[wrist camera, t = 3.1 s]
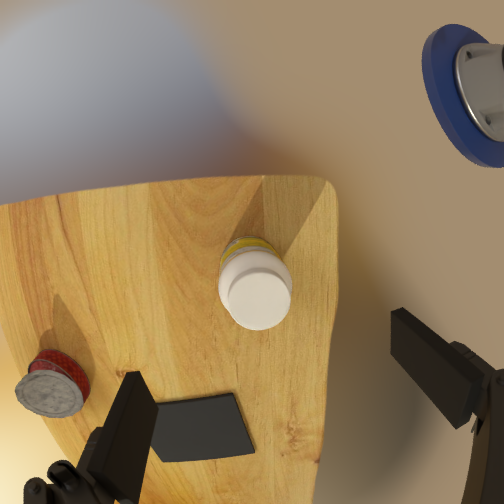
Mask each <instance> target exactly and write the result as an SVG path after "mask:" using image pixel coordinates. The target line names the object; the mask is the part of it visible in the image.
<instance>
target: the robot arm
mask: <svg viewBox="0 0 504 504" xmlns="http://www.w3.org/2000/svg"><path fill="white" fill-rule="evenodd" d="M452 72H453V79H454V84H455V88H456V91H457V94H458V97H459V100H460V102H461V104H462V107H463V109H464V111H465V113H466V114H467V116H468V118H469V119H470V121H471V122H472V124H473V125H474V127H475V128H476V129H477V130H478V131H479V132H480V133H481V134H482V135H483V136H484V137H486V138H487V139H489V140H491V141H494V142H504V45H500V44H487V43H471V44H467V45H464V46H462V47H460V48H459V49H458V50H457V51H456V52H455V54H454V57H453V62H452ZM391 355H392V356H393V357H394V358H395V360H396V361H397V362H398V363H399V364H400V365H401V366H402V367H403V368H404V369H405V371H406V372H407V373H408V374H409V375H410V377H411V378H412V379H413V380H414V381H415V382H416V383H417V384H418V386H419V387H420V388H421V389H422V390H423V391H424V393H425V394H426V395H427V396H428V397H429V398H430V400H432V402H433V403H434V404H435V405H436V407H437V408H438V409H439V410H440V411H441V413H442V414H443V415H444V416H445V417H446V418H447V420H448V421H449V422H450V423H451V424H452V426H453V427H454V428H455V429H458V428H459V427H461V426H462V425H464V424H466V423H467V422H469V420H470V418H471V415H472V412H473V413H474V414H475V415H476V416H477V418H476V420H475V423H474V425H473V427H472V430H471V433H473V431H474V438H473V446H472V453H471V459H470V465H469V471H468V476H467V481H466V485H465V490H464V495H463V498H462V502H461V504H504V369H500V370H495V369H494V368H493V367H492V366H490V365H489V364H488V363H487V362H486V361H484V360H483V359H482V358H480V357H479V356H478V355H476V353H474V352H473V351H471V350H470V349H469V348H468V347H467V346H465V345H464V344H462V343H459V342H456V341H453V342H451V343H450V344H449V343H447V342H446V341H445V340H444V339H442V338H441V337H440V336H439V335H438V334H436V333H435V332H434V331H433V330H431V329H430V328H429V327H427V326H426V325H425V324H424V323H422V322H421V321H420V320H419V319H417V318H416V317H415V316H414V315H412V314H411V313H410V312H408V311H407V310H406V309H404V308H403V307H402V308H400V309H396V310H394V311H391ZM158 411H159V408H158V406H157V404H156V403H155V401H154V399H153V397H152V395H151V393H150V391H149V389H148V387H147V385H146V383H145V381H144V379H143V377H142V375H141V373H140V371H135V372H127V373H126V375H125V377H124V379H123V382H122V384H121V386H120V388H119V390H118V393H117V395H116V397H115V400H114V402H113V404H112V406H111V409H110V411H109V413H108V416H107V418H106V421H105V423H104V425H103V427H96V429H95V430H94V431H93V432H92V433H91V434H90V436H89V438H88V441H87V444H86V445H85V448H84V449H85V450H83V453H82V455H81V457H80V460H79V462H78V465H77V467H76V468H75V467H74V466H73V465H72V464H71V463H70V462H69V461H67V460H59V461H56V462H55V463H53V464H52V465H51V466H50V467H49V469H48V472H47V477H48V478H49V479H50V480H51V481H52V482H53V483H54V484H47V483H46V482H45V481H44V480H43V479H41V478H39V477H38V478H37V477H34V478H32V479H30V480H28V481H27V482H26V484H25V486H24V504H114V501H115V499H116V500H117V501H118V502H119V503H120V504H138V503H139V498H140V493H141V488H142V483H143V478H144V473H145V468H146V463H147V459H148V454H149V450H150V445H151V441H152V436H153V432H154V428H155V424H156V419H157V415H158Z"/></svg>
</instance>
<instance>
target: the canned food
mask: <svg viewBox="0 0 504 504" xmlns="http://www.w3.org/2000/svg"><path fill="white" fill-rule="evenodd" d="M15 393H16V396H17V399H18V401H19V402H20V403H21V404H22V405H23V406H24V407H25V408H26V409H28V410H30V411H33V412H34V413H36V414H39V415H43V416H46V417H49V418H64V417H68V416H73V415H74V414H75V413H76V412H78V411H80V410H81V409H82V407H83V405H84V403H85V401H86V399H87V398H88V396H89V394H90V384H89V381H88V378H87V376H86V374H85V373H84V371H83V370H82V369H81V367H80V366H79V365H78V364H77V363H76V362H75V361H74V360H73V359H71V358H70V357H69V356H67V355H65V354H64V353H62V352H59V351H57V350H52V349H47V350H43V351H42V352H40V353H39V355H38V356H37V357H36V358H35V359H34V360H33V361H32V362H31V363H30V364H29V367H28V374H27V375H25V376H24V377H23V379H22V380H21V381H20V382H19V383H18V384H17V386H16V388H15Z"/></svg>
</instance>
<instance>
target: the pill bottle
mask: <svg viewBox="0 0 504 504" xmlns="http://www.w3.org/2000/svg"><path fill="white" fill-rule="evenodd" d="M218 289H219V295H220V299H221V301H222V303H223V305H224V306H225V308H226V309H227V310H228V311H229V312H230V314H231V316H232V317H233V319H234V320H235V321H236V322H237V323H238V324H240V325H241V326H243V327H245V328H248V329H252V330H264V329H268V328H271V327H273V326H275V325H277V324H278V323H279V322H281V321H282V320H283V318H284V317H285V316H286V314H287V312H288V310H289V308H290V302H291V293H292V279H291V275H290V273H289V270H288V268H287V267H286V265H285V264H284V262H283V261H282V259H281V258H280V257H279V255H278V254H277V252H276V251H275V250H274V248H273V247H272V246H271V245H270V244H269V243H268V242H267V241H265V240H263V239H261V238H259V237H255V236H244V237H240V238H238V239H236V240H234V241H233V242H231V243H230V244H229V245H228V246H227V247H226V249H225V250H224V252H223V254H222V257H221V262H220V274H219V285H218Z"/></svg>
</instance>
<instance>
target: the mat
mask: <svg viewBox="0 0 504 504" xmlns="http://www.w3.org/2000/svg"><path fill="white" fill-rule="evenodd" d="M156 404H157V406H158V408H159V411H158V415H157V419H156V424H155V428H154V432H153V436H152V441H151V447H152V448H153V450H154V451H155V452H156V454H157V455H158V457H159V458H160V459H161V461H162V462H183V461H197V460H208V459H218V458H226V457H233V456H240V455H247V454H253V453H255V450H254V448H253V445H252V442H251V440H250V437H249V435H248V432H247V430H246V427H245V424H244V422H243V419H242V416H241V414H240V411H239V408H238V405H237V403H236V400H235V397H234V394H233V393H228V394H222V395H216V396H210V397H203V398H196V399H189V400H181V401H173V402H163V403H156Z"/></svg>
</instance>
